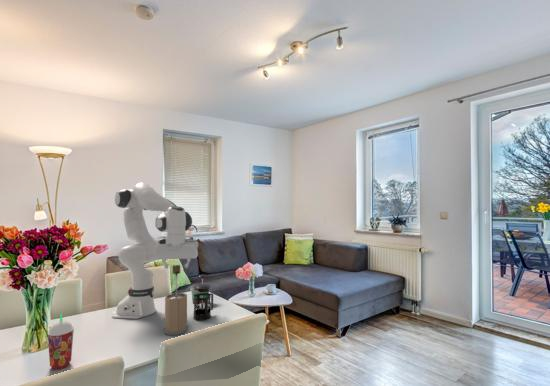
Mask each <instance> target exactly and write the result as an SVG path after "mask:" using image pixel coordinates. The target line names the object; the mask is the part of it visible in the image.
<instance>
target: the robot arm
mask: <svg viewBox="0 0 550 386" xmlns="http://www.w3.org/2000/svg"><path fill="white" fill-rule="evenodd" d="M114 203H115V205H116V206H117V207H118V208H120V209H121V208H122V209H124V210H123V223H124V227H125V232H126V236H127V238H128V240H130V241H133V242H135V243H136V244H135V243H134V244H129V245H125V246H123V247H121V248H120V250H119V252H118V254H117V255H118V260H119V262H120V263H121V264H122V265H124V266H125V267H126V268H127V269H128V271H129V272H130V275H131V287H129V289H128V291H127V294H128V295H126V296H125V297H124V298H123V299H121V300H120V301H119V302H118V304H117V306H116V310H114V311H113V312H112V313H111V318H113V319H132V320H133V319H140V318H143V317H147V316H151V315H152V314H154V313H156V312H157V309H156V305H155V300H154V296H155V286H154V273H153V271H152V270H150V269H148V268H146V267H145V266H144V264H145V263H150V262H151V263H152V262H156V261H159V260H161V261H162V264H163V265H164V269H169V264H168V263H167V260H186V261H187V262H186V263H185V264H184V269H188V268H189V263H190V261H191V260H192V259H197V257H198V256H199V251H198V247H199V242H198V240H196V239H188V238H187V231H188V230H189V229H190V228H191V226H192V224H193V218H192V216H191V214H190V213H189V212H188V211H186V210H185V208H183V207H182V206H177V205H176V204H175V203H174V202H173V201H172V200H169V199H168V198H166V197H164V196H162V195H161V194H159V193H158V192H157V191H156V190H155V189H154V188H153V187H152V186H151V185H150V184H147V183H145V182H139V183H136V185H135V186H134V187H133V189H128V188H127V189H121V190H120V189H119V190H118V191H117V192H115V195H114ZM143 211H151V212H162V213H159V214H158V215H157V217H155V227H156V229H157V230H158V231H159V232H160V233H161V232H162V233H166V236H165V237H161V238H159V239H157V240H156V239H155V238H154V237H153V236H152V235H151V234H150V232H149V230H148V227H147V225H146V220H145V218H144V214H143Z"/></svg>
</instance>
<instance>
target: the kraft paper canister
mask: <svg viewBox="0 0 550 386" xmlns="http://www.w3.org/2000/svg"><path fill="white" fill-rule="evenodd" d="M173 295H175V292H173V293H170V294H167V295H166V296H165V297H164V329H163V333H164V334H165V336H169V337H177V336H181V335H185V333H188V330H189V327H188V326H189V325H188V294H187V293H184V292H177V295H183V296H184V297H182V298H179V299H169V297H170V296H173Z"/></svg>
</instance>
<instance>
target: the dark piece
mask: <svg viewBox="0 0 550 386" xmlns="http://www.w3.org/2000/svg"><path fill="white" fill-rule="evenodd" d="M189 290H190V291H189V292H191V299H192V304H193V305H194V295H195V294H199V293H201V292H199V291H198V290H195V288H194V286H192V285H191V286H190V289H189ZM203 293H209V294H210V291H208V292H203ZM206 297H208V296H207V295H203V298H206ZM196 298H197V297H196ZM200 298H202V295H201V296H200ZM200 303H202V301H200ZM203 303H205V300H203ZM196 304H197V300H196Z"/></svg>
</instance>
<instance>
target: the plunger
mask: <svg viewBox="0 0 550 386" xmlns="http://www.w3.org/2000/svg"><path fill="white" fill-rule="evenodd" d="M172 274H173V275H175V278H174V279H175V280H174V281H175V282H174V283H175V286H174V287H175V288H174V289H175V290H174V293H175V295H173V296H170V297H169V299H179V298H182V297H184V296H183V295H177V293H178V274H181V265H180V264H173V265H172Z"/></svg>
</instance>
